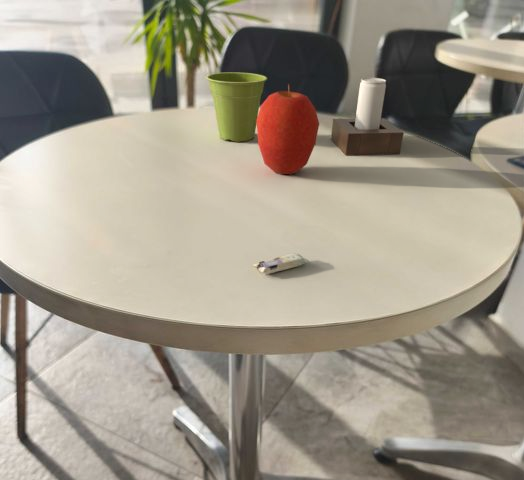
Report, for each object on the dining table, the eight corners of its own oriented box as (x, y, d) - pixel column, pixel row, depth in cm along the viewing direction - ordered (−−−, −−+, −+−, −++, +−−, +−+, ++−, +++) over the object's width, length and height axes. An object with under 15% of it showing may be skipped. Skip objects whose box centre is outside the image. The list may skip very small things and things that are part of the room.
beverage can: (378, 150, 98) (389, 82, 91) (353, 149, 98) (363, 82, 91) (373, 143, 102) (383, 77, 95) (350, 142, 102) (358, 77, 94)
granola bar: (299, 257, 61) (299, 249, 61) (309, 265, 60) (310, 257, 59) (251, 269, 59) (251, 261, 58) (260, 277, 57) (260, 270, 57)
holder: (381, 138, 105) (384, 118, 103) (399, 154, 97) (404, 132, 94) (330, 139, 104) (333, 118, 101) (345, 155, 95) (348, 133, 93)
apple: (258, 182, 82) (259, 89, 74) (253, 163, 90) (254, 77, 82) (319, 181, 83) (327, 90, 75) (309, 162, 91) (316, 77, 82)
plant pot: (277, 138, 103) (279, 77, 96) (234, 149, 96) (234, 85, 89) (239, 127, 110) (238, 69, 103) (196, 136, 103) (193, 75, 96)
